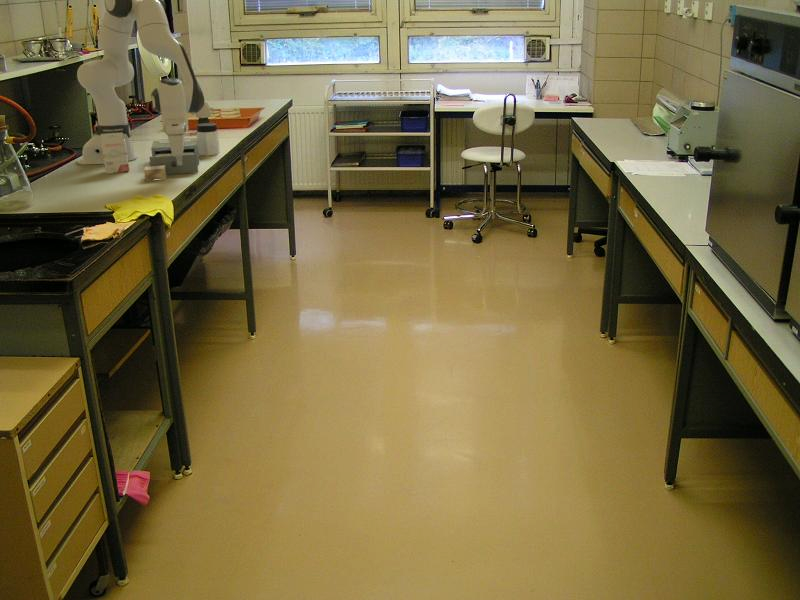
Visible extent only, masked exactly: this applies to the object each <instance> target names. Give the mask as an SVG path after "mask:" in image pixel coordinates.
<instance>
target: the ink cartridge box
mask: <svg viewBox="0 0 800 600" xmlns="http://www.w3.org/2000/svg"><path fill="white" fill-rule="evenodd" d="M100 136H101V146H102V152H103V159H104V164H103V165H104V170H105V173H106V174H114V173H113V172H119V173H124V172H123V171H129V172H130V165H129V161H128V157H127V150H126V144H125V139H124V137H123V133H122V132H121V133H107V134H101V135H100ZM109 136H116V138H108V137H109Z"/></svg>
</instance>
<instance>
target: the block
mask: <svg viewBox="0 0 800 600" xmlns="http://www.w3.org/2000/svg"><path fill="white" fill-rule="evenodd" d="M143 174H144V179H145V180H154V179H166V180H167V174H166V167H165V165H158V166H151V165H146V166H144V170H143ZM145 180H144V181H145Z"/></svg>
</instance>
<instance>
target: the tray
mask: <svg viewBox="0 0 800 600" xmlns="http://www.w3.org/2000/svg"><path fill="white" fill-rule="evenodd" d="M149 162H150V163H149V164H150V165H149V166H158V165H165V167H166V175H174V174H187V173H188V174H189V173H191V174H192V173H199V165H197V155H196V154H194V152H186V153H183V156H182V162H183V163H182V165H179V166H178V165H177V160H176V157H173V156H172V153H170V154H156V156H153V157H152V156H149Z"/></svg>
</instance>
